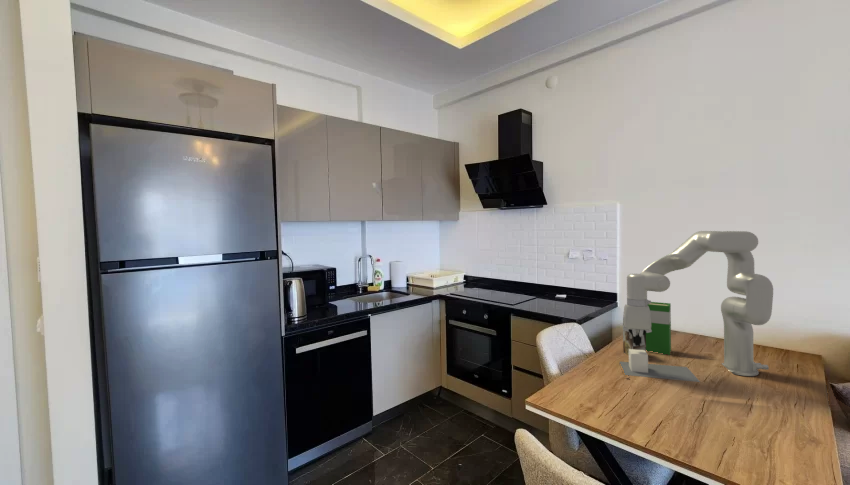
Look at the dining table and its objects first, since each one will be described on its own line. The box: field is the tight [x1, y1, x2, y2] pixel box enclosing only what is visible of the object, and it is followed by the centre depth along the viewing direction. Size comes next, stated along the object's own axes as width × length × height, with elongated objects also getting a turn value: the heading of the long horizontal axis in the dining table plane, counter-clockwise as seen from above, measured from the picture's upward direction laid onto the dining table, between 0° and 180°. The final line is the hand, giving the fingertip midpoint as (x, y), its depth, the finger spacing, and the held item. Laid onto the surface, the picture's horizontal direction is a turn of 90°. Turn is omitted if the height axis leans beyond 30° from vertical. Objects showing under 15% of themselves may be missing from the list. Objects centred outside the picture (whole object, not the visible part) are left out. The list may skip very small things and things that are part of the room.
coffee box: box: [622, 324, 646, 356], centre depth 173 cm, size 9×6×16 cm
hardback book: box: [646, 301, 672, 356], centre depth 183 cm, size 18×7×24 cm, turn 51°
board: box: [619, 361, 701, 383], centre depth 154 cm, size 26×16×2 cm, turn 70°
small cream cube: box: [628, 349, 649, 373], centre depth 156 cm, size 6×6×8 cm
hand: (637, 344), depth 156 cm, fingers closed
